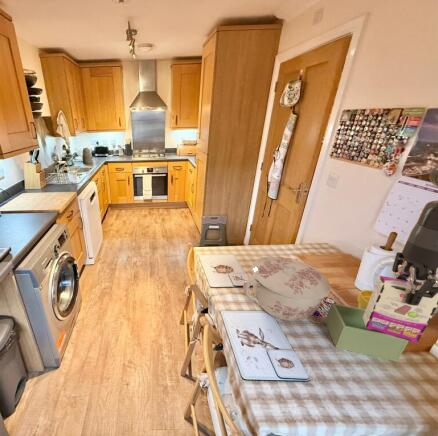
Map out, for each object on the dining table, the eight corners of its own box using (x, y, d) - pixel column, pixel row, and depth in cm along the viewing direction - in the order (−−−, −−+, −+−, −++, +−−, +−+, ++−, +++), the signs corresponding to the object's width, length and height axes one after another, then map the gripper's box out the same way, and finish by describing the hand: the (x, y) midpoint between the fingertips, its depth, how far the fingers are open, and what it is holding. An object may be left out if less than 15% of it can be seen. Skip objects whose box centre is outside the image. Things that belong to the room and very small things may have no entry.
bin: (378, 333, 85) (388, 313, 81) (396, 362, 75) (409, 340, 71) (324, 322, 90) (331, 302, 86) (335, 347, 80) (343, 326, 76)
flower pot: (391, 321, 89) (401, 301, 86) (380, 333, 85) (390, 313, 81) (358, 304, 98) (366, 286, 94) (347, 314, 93) (354, 295, 89)
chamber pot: (319, 299, 101) (332, 259, 93) (319, 347, 81) (336, 301, 72) (251, 278, 116) (258, 242, 108) (237, 314, 95) (243, 273, 87)
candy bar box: (410, 330, 68) (435, 285, 61) (417, 344, 64) (445, 297, 57) (360, 316, 73) (378, 274, 67) (364, 328, 69) (384, 284, 63)
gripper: (477, 260, 50) (442, 319, 56) (429, 232, 62) (404, 282, 69) (431, 255, 52) (402, 312, 59) (393, 229, 64) (373, 278, 71)
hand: (403, 296), depth 64 cm, fingers closed on candy bar box, 5 cm apart
